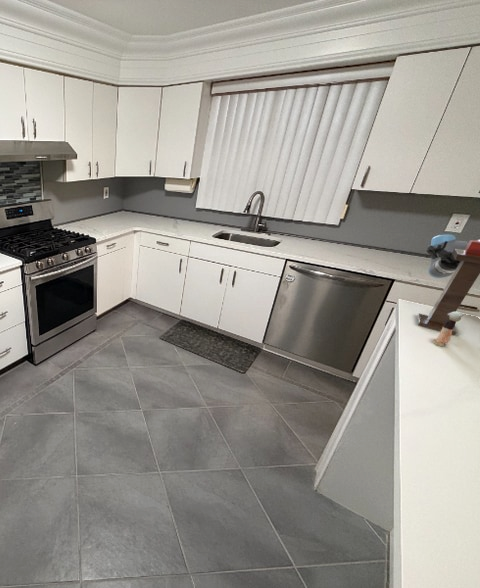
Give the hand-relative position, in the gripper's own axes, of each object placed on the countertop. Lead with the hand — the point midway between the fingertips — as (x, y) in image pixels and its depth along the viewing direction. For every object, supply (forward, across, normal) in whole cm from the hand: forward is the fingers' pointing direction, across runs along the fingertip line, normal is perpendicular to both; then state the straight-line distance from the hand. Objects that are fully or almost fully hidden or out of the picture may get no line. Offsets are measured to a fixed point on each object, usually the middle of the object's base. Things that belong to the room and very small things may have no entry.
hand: (470, 248), depth 119 cm
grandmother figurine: (+12, 0, -40) cm, 42 cm away
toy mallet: (+6, 0, -3) cm, 7 cm away
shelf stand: (-4, 0, -31) cm, 31 cm away
